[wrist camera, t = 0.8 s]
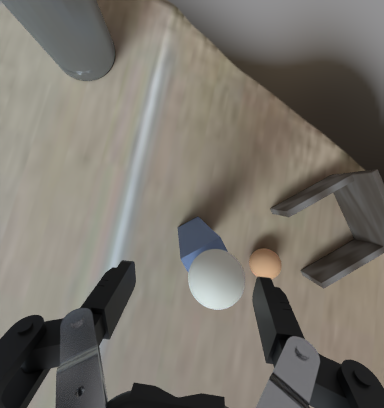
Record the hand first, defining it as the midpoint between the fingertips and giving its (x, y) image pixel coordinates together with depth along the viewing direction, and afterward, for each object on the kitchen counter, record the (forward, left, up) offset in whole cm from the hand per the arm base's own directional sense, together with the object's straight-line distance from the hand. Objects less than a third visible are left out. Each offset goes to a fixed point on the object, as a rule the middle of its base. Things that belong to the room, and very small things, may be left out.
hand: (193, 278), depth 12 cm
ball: (+6, +14, -20) cm, 25 cm away
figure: (+1, +2, -21) cm, 21 cm away
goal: (0, +24, -20) cm, 32 cm away
